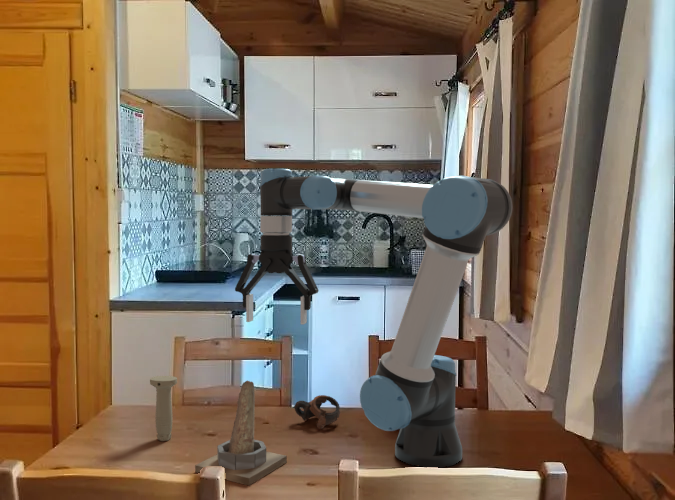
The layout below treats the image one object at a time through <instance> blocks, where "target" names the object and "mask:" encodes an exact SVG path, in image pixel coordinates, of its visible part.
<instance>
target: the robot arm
mask: <svg viewBox="0 0 675 500" xmlns="http://www.w3.org/2000/svg"><path fill="white" fill-rule="evenodd" d="M259 189H260V194H259V196H260V198H259V199H260V233H262V235H260V254H256V253H249V254H248V255H247V259H246V264H245V266H244V268H243V271H242V273H241V275H240V277H239V279H238V281H237V284H236V285H235V288H234V291H235V292H238V293H241V294H242V308H244V309H246V311H245V313H246V318H245V320H246V322H247V323H251V322H253V321H254V293H251V292H252V290H253V289H254V288H255V287H256V286H257V285H258V283H259V282H260V281H261V280H262V278H263V277H264V276H265V275H266V274H267V273H269V274H274V273H276V274H285V275H286V276H288V277H289V279H290V280H291V282H293V284H294V285H295V286H296V287H297V289H298V290H299V291H300V293H301V294H302V296H300V325H305V324H307V322H308V320H307V319H308V311H309V310H311V308H312V303H311V302H312V299H311V297H312V296H313V295H316V294H318V292H319V288H318V286H317V284H316V281H315V280H314V277H313V276H312V273H311V272H310V269H309V267H308V264H307V263H306V262H307V261H306V255H305V254H304V253H303V254H299V255H294V254H293V236H292V235H291V234H290V233H292V232H293V210H313V211H315V210H318V211H319V210H339V211H340V210H342V211H353V212H361V213H362V212H364V213H373V214H380V215H390V216H398V217H408V218H416V219H417V218H418V219H423V224H424V225H425V227H424V229H423V232H422V238H423V240H424V241H425V243H426V247H425V251H424V253H423V256H422V259H421V263H420V265H419V268H418V271H417V274H416V276H415V280H414V282H413V286H412V289H411V292H410V295H409V298H408V301H407V304H406V305H405V309H404V313H403V315H402V318H401V321H400V323H399V327H398V328H397V333H396V336H395V338H394V342H393V344H392V348H391V350H390V351H387V352H385V353H383V354H382V355H381V357H380V359H379V363H378V366H377V369H376V371H375V375H374V374H373V375H371V376H369V377H368V378H367V379H366V380H365V381H364V382H363V383H362V385H361V387H360V392H359V402H360V407H361V409H363V412H364V416H365V417H366V418H367V419H368V421H369V422H370V423H371V424H372V425H374V426H375V427H376V428H378V429H380V430H381V431H386V432H394V431H397V430H399V432H398V434H397V438H396V440H395V445H394V455H395V457H396V458H397V459H398V460H399V461H400V460H401V462H402V461H403V462H402V463H404V462H406V463H405V464H407V463H408V464H407V465H410V464H412V465H411V466H414V465H419V466H423V467H422V468H427V467H440V468H445V467H444V466H447V467H451V466H455V465H457V464H459V463H460V462H461V461H462V459H463V446H462V443H461V439H460V437H459V433H458V429H457V427H456V386H457V385H456V382H457V381H456V380H457V379H456V378H457V373H456V362H455V361H454V360H453V359H452V358H451V357H448V356H445V355H444V356H443V355H437V354H436V352H437V348H438V346H439V343H440V340H441V338H442V336H443V332H444V329H445V327H446V323H447V321H448V318H449V315H450V313H451V310H452V307H453V304H454V303H455V299H456V296H457V293H458V291H459V288H460V285H461V282H462V280H463V277H464V274H465V271H466V268H467V266H468V264H469V260H470V259H472V258H474V257H477V256H479V255H480V253H481V251H482V248H483V245H484V242H485V239H486V236H487V237H488V236H491V235H494V234H496V233H498V232H500V231H501V230H503V229H504V228H505V226H507V224H508V223H509V221H510V219H511V217H512V214H513V200H512V197H511V195H510V193H509V191H508V190H507V189H506V187H505V186H504V185H502V184H501V183H499V182H498V181H495V180H494V179H490V178H482V177H481V178H480V177H474V176H467V175H453V176H448V177H444V178H442V179H440V180H438V181H437V182H435V183H433V184H426V183H425V184H424V183H410V182H395V181H382V180H381V181H380V180H368V179H367V180H366V179H355V178H340V177H339V178H338V177H337V178H335V177H329V176H326V175H314V174H313V175H309V176H306V175H305V176H293V172H292V170H291V169H288V168H265V169H263V170H261V173H260V184H259ZM258 261H259V262H260V264H261V267H260V268H259V269H258V270H257V272H256V274H254V276H253V277H252V278H251V280H250V281H249V282H248V280H249V278H250V276H251V274H252V271H253V269H254V267H255V264H256V263H258ZM293 262H295V264H296V265H297V266H298V267H299V270H300V272H301V274H302V276H303V279H304V281H305V282H304V281H303V280H302V279H301V278H300V276H299V275H298V274H297V273H296V271H295V269H294V268H293V266H292V264H293ZM247 282H248V283H247ZM305 283H306V284H305ZM459 461H460V462H459ZM458 462H459V463H458ZM456 463H457V464H456ZM419 466H418V467H419Z"/></svg>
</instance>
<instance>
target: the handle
mask: <svg viewBox="0 0 675 500" xmlns="http://www.w3.org/2000/svg"><path fill="white" fill-rule="evenodd" d="M176 384H178V377H176V376H172V375H171V376H170V375H157V376H156V375H155V376H152V377H150V378H149V385H151V386H153V387H154V388H155V390H156V398H155V400H156V401H155V429H156V433H157V434H156V439H157V440H158V441H160V442H166V441H169V440H171V438H172V429H173V405H172V387H174V386H175V385H176Z"/></svg>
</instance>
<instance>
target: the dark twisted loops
mask: <svg viewBox="0 0 675 500" xmlns="http://www.w3.org/2000/svg"><path fill="white" fill-rule="evenodd" d="M327 401H328V402H329V403H330V405H332V406H334V407H335V410H334V411H332V412H327V411H326V410H324V409H322V408H321V406H322V405H323V404H325V403H327ZM340 408H341V406H340V404H339V402H338V401H337V400H336V399H335V398H333V397H332V396H329V395H325V394H322V395H321V394H319V395H316V396H315V397H313V399H312V400H310V401H306V400H299V401H296V403H295V404H294V411H295V413H296V414H297V415H298V416H299V417H301V418H302V420H303V421H305V422H306V421H308V420H309V419H311V418H314V417H315V418H317V419H318V421H317V423H316V427H317V428H318V429H321V430H323V429H324V428H325V426H329V425H331V424H332V423H335V422H336V421H338V419H339V418H340V414H341V410H340Z"/></svg>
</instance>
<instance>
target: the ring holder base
mask: <svg viewBox="0 0 675 500" xmlns="http://www.w3.org/2000/svg"><path fill="white" fill-rule="evenodd" d="M230 440H231V439H228V440H227V441H224V442H223V443H220V444H218V445H217V454H214V455H213V456H211V457H209V458H207V459H205V460H203V461H201V462H199V463H197V464H195V466H194V467H195V469H194V471H195V473H197V474H199V473H198V472H200V470H201V469H202V468H203V467H206V466H222V467H224V468H225V473H226V479H227V480H226V481H229V482H233V483H237V484H241V485H246V486H251V485H252V484H254V483H256V482H257V481H259V480H260V479H262V478H264V477H265V476H267V475H268V474H270V473H272V472H273V471H275V470H277V469H279V468H280V467H281V466H283V465H285V464H287V463H288V462H287V461H288V460H287V458H288V457H287V455H285V454H279V453H275V452H271V451H267V446H266V444H265V442H264V441H262V440H259V439H254V452H253V453H243V454H234V453H229V452H228V449H229V444H230Z"/></svg>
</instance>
